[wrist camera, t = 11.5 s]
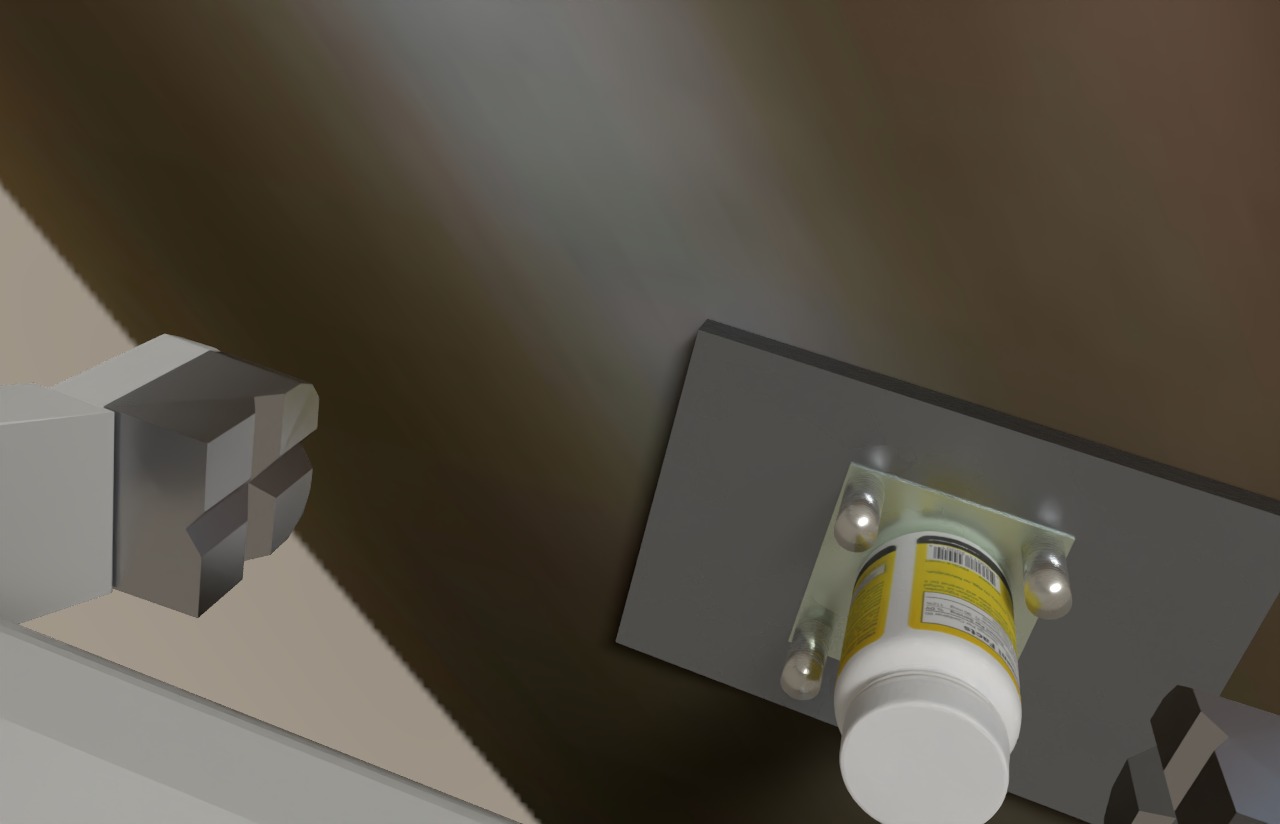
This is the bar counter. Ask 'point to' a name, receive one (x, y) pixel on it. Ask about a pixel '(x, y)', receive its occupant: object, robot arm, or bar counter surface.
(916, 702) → the supplement bottle
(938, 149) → the bar counter surface
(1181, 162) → the bar counter surface
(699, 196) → the bar counter surface
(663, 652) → the grey fixture plate
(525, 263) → the bar counter surface
